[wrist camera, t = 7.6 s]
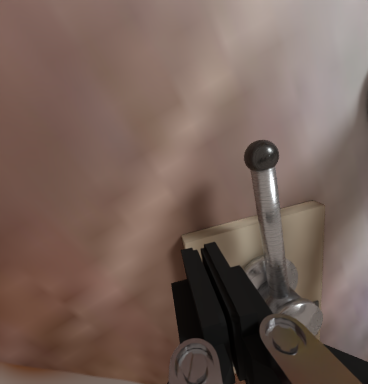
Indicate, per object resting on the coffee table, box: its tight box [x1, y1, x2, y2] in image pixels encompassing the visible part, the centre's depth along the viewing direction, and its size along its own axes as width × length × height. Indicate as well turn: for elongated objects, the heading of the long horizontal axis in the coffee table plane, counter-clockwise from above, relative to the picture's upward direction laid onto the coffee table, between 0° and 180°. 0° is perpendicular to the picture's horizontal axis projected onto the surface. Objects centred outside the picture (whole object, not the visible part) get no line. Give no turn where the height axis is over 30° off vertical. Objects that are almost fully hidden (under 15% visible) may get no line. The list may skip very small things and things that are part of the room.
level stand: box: [181, 200, 325, 374], centre depth 22 cm, size 14×18×2 cm
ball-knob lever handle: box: [243, 140, 323, 336], centre depth 17 cm, size 23×6×4 cm, turn 15°
